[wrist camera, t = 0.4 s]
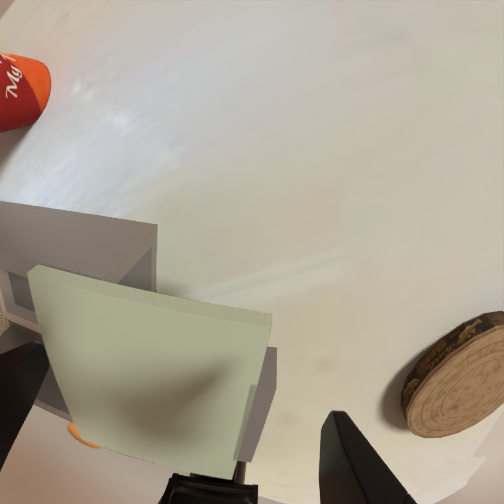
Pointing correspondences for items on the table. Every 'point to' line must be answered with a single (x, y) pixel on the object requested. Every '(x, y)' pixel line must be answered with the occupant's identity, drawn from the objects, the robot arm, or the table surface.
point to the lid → (157, 371)
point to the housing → (65, 267)
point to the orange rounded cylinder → (76, 435)
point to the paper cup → (22, 90)
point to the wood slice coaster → (457, 379)
